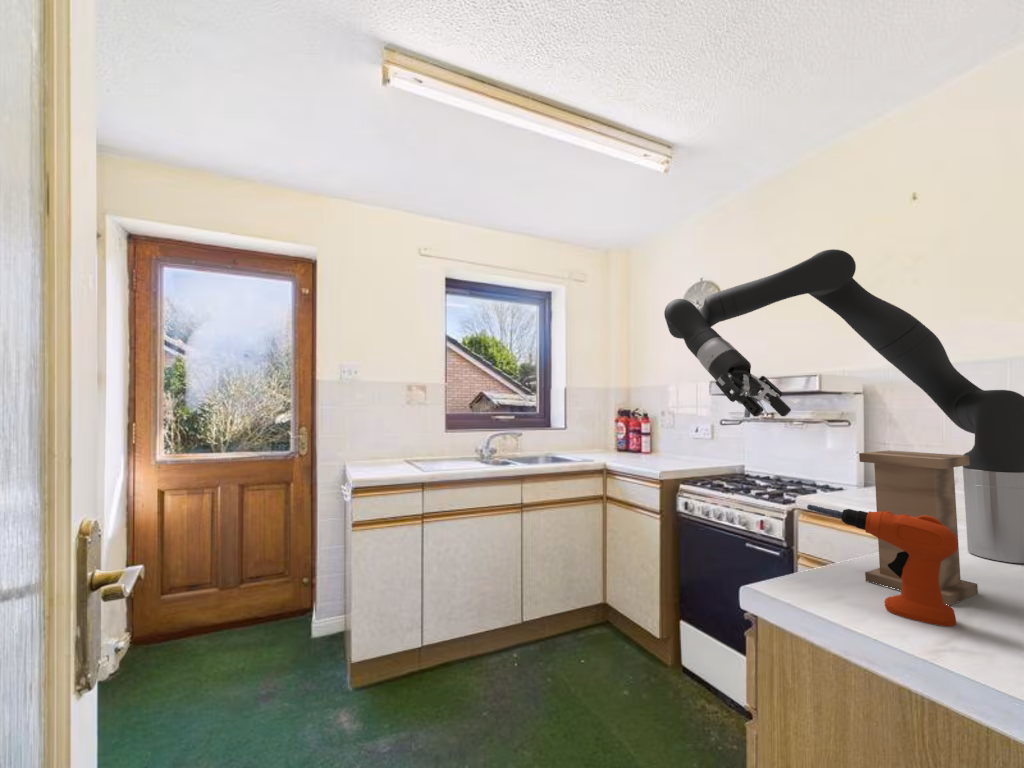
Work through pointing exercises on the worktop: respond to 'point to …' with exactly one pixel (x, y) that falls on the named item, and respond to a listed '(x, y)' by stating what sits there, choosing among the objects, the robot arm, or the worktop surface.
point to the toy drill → (910, 559)
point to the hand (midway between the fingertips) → (773, 413)
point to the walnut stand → (918, 509)
